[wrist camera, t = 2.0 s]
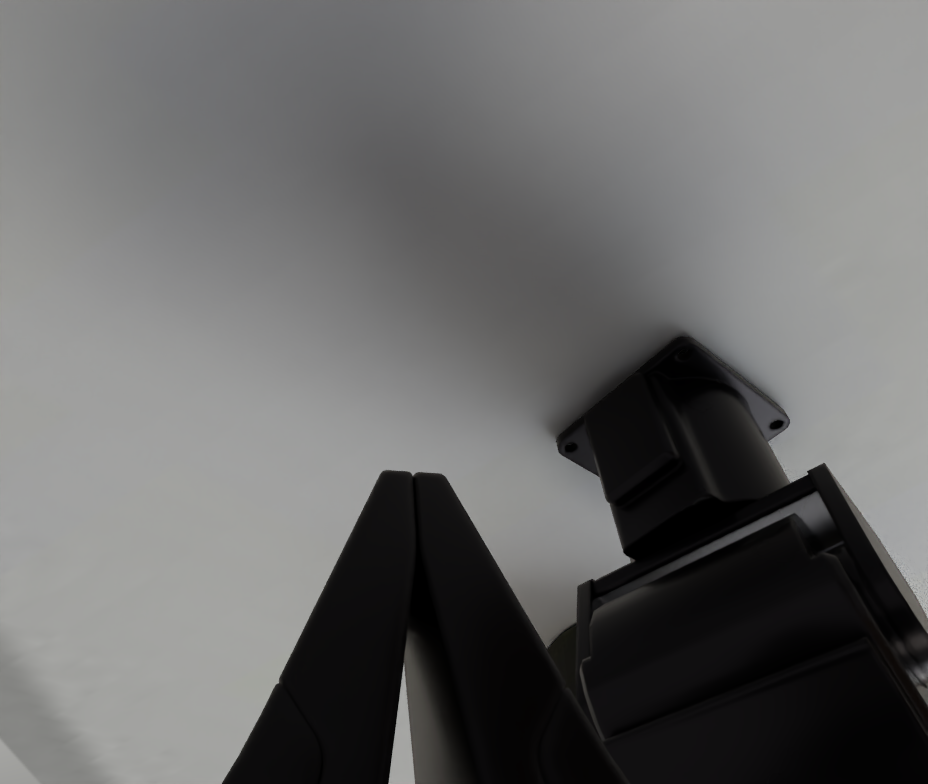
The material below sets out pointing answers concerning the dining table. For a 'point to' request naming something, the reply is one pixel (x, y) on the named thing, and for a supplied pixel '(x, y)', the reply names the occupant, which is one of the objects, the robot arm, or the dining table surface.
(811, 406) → the dining table surface
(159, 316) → the dining table surface
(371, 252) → the dining table surface
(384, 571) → the robot arm
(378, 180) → the dining table surface
